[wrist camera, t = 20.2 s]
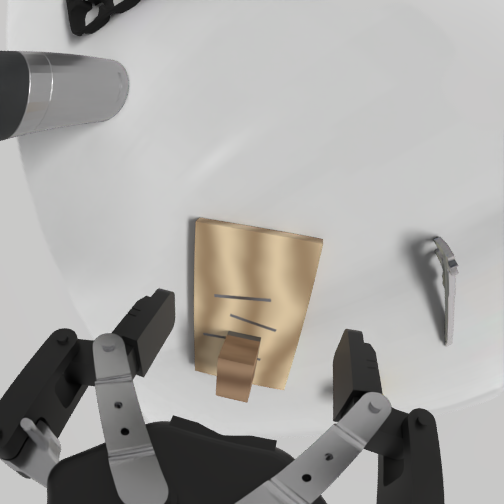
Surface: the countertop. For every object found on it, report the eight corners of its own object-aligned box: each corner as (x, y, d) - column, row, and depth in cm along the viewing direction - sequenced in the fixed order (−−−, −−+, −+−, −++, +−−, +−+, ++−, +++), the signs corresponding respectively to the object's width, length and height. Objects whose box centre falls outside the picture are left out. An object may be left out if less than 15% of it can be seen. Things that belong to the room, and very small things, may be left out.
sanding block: (254, 375, 48) (247, 402, 42) (225, 368, 48) (215, 395, 43) (261, 337, 44) (253, 365, 38) (228, 330, 44) (217, 357, 39)
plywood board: (197, 364, 51) (195, 370, 50) (199, 217, 39) (195, 221, 37) (284, 383, 49) (283, 390, 48) (322, 239, 37) (323, 243, 36)
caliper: (431, 237, 34) (449, 258, 28) (438, 234, 34) (457, 255, 28) (444, 344, 40) (455, 371, 35) (450, 342, 40) (461, 368, 34)
